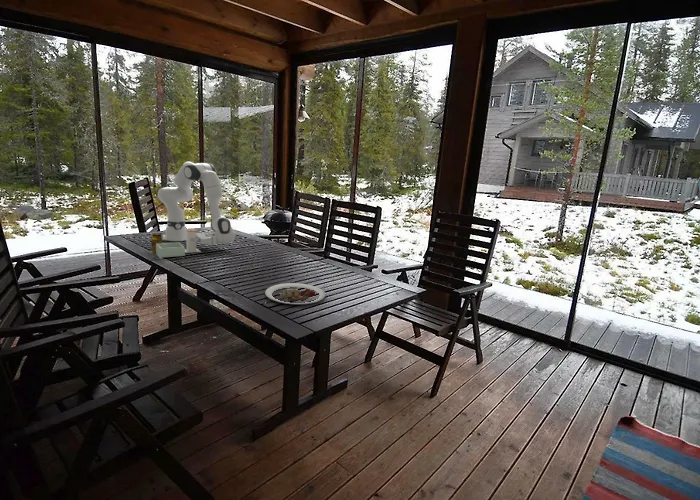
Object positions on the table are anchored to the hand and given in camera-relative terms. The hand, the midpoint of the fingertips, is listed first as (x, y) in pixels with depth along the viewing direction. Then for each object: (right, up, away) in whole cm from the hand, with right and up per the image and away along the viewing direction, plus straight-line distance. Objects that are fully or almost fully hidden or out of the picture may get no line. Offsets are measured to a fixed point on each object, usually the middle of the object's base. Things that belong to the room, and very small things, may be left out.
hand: (189, 238), depth 255 cm
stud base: (0, -9, +3) cm, 10 cm away
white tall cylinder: (0, -8, +2) cm, 8 cm away
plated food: (+78, -31, -60) cm, 103 cm away
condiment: (-20, -9, -2) cm, 22 cm away
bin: (-8, -11, -9) cm, 17 cm away
